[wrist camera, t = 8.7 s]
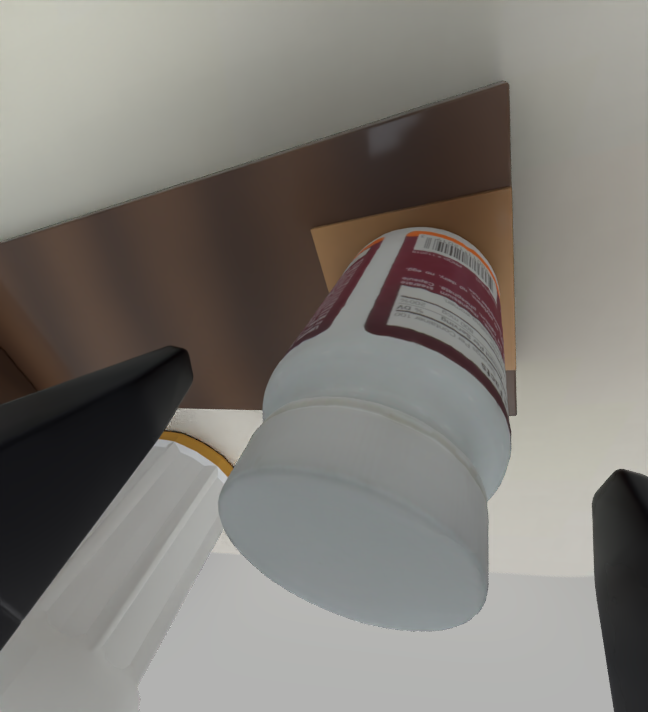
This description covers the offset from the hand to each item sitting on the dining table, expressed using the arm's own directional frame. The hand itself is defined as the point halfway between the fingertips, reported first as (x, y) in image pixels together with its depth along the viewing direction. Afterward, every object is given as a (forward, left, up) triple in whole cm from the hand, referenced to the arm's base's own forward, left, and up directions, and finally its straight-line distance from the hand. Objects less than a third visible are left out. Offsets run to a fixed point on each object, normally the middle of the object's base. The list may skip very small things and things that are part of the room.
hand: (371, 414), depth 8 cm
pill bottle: (0, 0, -5) cm, 5 cm away
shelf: (+11, +4, -8) cm, 14 cm away
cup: (+14, +20, -9) cm, 26 cm away
